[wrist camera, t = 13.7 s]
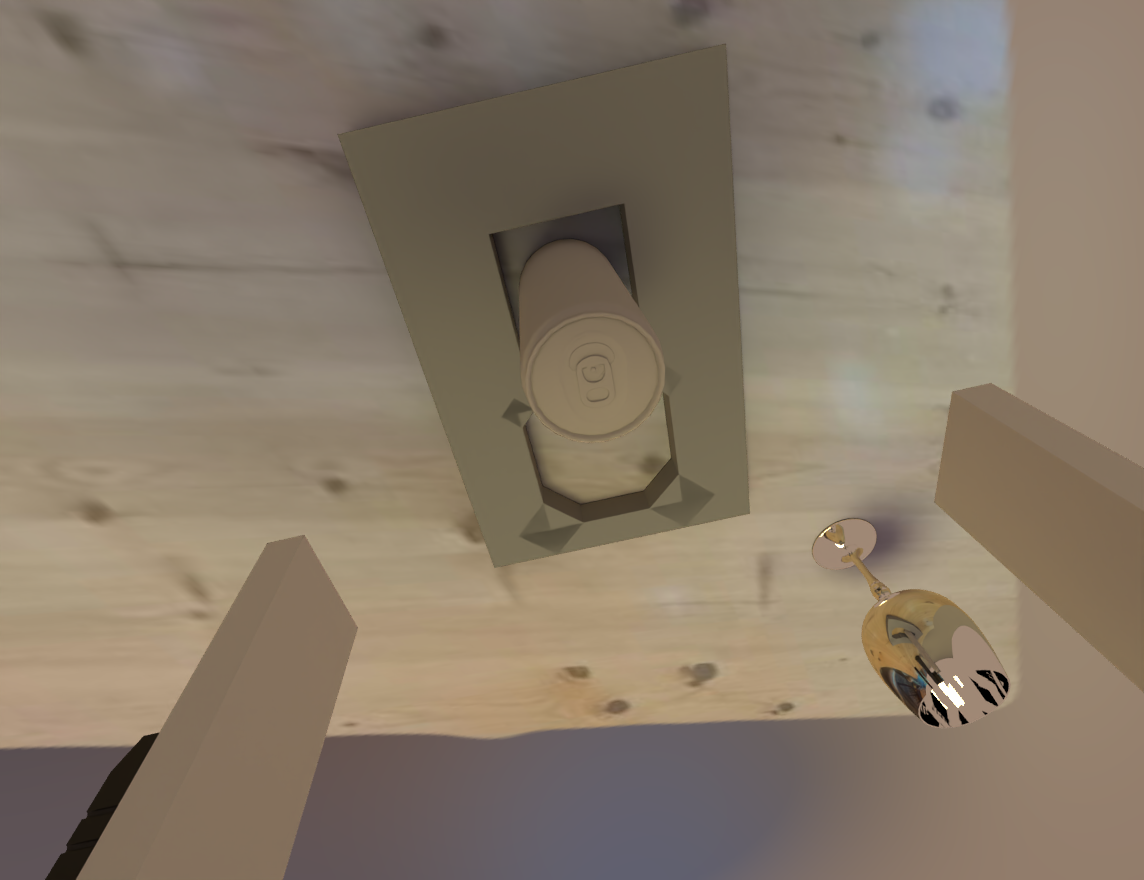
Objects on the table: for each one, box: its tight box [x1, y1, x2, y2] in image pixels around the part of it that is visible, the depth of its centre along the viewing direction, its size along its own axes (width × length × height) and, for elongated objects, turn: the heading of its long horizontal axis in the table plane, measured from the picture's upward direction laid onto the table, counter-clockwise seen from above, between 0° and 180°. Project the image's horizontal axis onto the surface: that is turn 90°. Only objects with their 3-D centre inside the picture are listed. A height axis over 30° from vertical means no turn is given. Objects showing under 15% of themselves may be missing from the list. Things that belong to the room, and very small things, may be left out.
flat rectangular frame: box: [338, 44, 750, 568], centre depth 29 cm, size 24×16×2 cm, turn 11°
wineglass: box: [812, 519, 1011, 728], centre depth 34 cm, size 6×6×12 cm
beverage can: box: [519, 239, 665, 443], centre depth 23 cm, size 5×5×12 cm
